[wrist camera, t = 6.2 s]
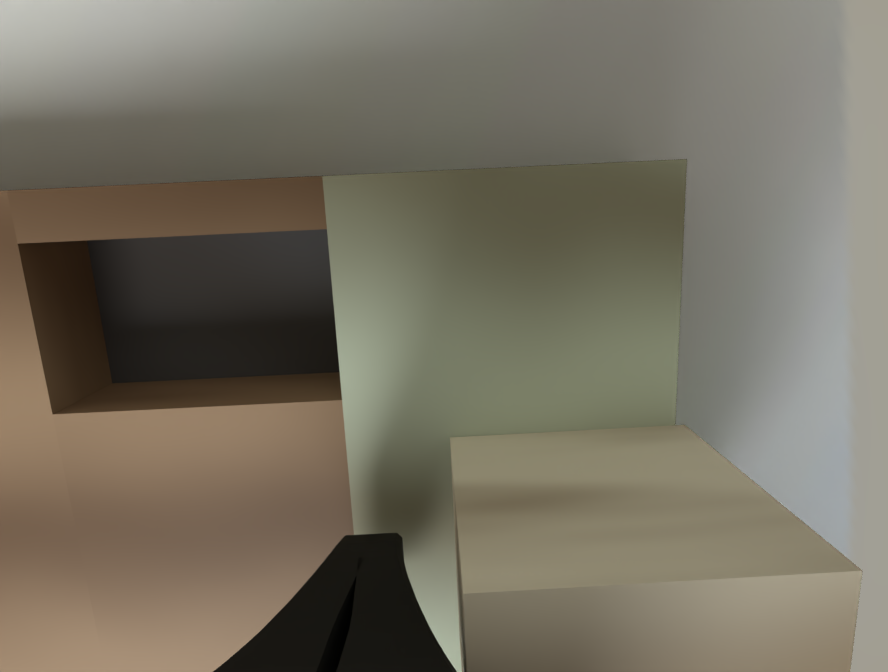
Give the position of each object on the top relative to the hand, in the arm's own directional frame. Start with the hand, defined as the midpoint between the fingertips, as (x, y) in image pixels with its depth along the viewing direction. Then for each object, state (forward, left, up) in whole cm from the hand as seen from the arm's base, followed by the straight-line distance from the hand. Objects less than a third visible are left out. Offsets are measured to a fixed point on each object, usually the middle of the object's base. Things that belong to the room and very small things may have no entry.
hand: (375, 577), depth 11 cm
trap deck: (0, +3, -3) cm, 5 cm away
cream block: (0, -4, -1) cm, 4 cm away
